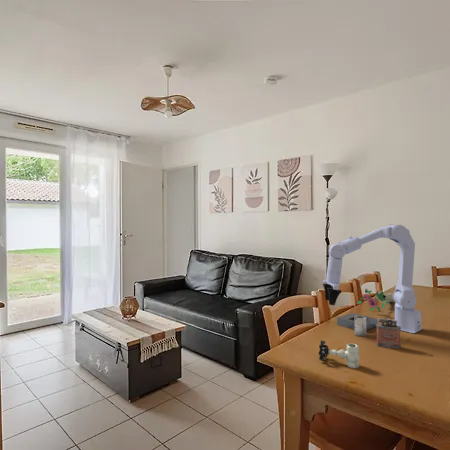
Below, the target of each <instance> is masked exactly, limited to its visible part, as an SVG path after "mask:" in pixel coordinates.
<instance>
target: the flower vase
mask: <svg viewBox="0 0 450 450" xmlns="http://www.w3.org/2000/svg"><path fill="white" fill-rule="evenodd" d="M364 292H365V293H364V294H363V295H362V297H359V299H360V300H358V301H357V303H356V304H357V305H361V304H362V302H363V301H367V305H368V306H369V307H370V309H369V311H370V312H371V311H374V310H375V309H376V310H378V311H379V312H381V308H380V306H379V305H378V302H380V303H381V304H380V305H381V307H382V308H383V309H384V308H385V305H388V306H389V305H390V303H394V302H395V301H394V300H393V293H391V292H390V293H385V292H384V291H383V290H380V291H378V290H377V291H376V293H375V295H374V296H375V297H374V298H373V297H371V296H370V294H371V293H372V292H373V291H372V290H368V288H365V289H364ZM362 300H363V301H362Z"/></svg>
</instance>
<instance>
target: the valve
mask: <svg viewBox="0 0 450 450" xmlns="http://www.w3.org/2000/svg"><path fill="white" fill-rule="evenodd" d="M318 348H319V351H318V355H319V357H318V358H319V359H318V360H319V361H325V358H327V357H328V356H329V355H332V356H334V357H336V356H338V357H339V358H340V359H341V360H344V359H345V360H346V361H345V363H346V366H347V367H348V368H352V369H357V368H359V367H360V362H359V361H360V358H361V357H360V353H359V352H360V347H359V345H357V344H356V343H346V345H345V349H344V348H340V350H337V349H331V350H330V348H329V346H328V345H326V341H325V340H320V344H319V347H318Z"/></svg>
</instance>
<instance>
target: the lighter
mask: <svg viewBox="0 0 450 450" xmlns="http://www.w3.org/2000/svg"><path fill="white" fill-rule="evenodd" d="M377 319H378V324H376V346H377V347H381V348H386V349H387V348H388V349H401V348H402V345H401V330H400V329H401V327H400V326H397V320H395V319H392V318H377Z"/></svg>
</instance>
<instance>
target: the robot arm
mask: <svg viewBox="0 0 450 450" xmlns="http://www.w3.org/2000/svg"><path fill="white" fill-rule="evenodd" d="M383 238H386V239H389V240H392V241H393V242H394V243H396V244H397V245H398V246H399V247H400V248H399V261H398V262H399V265H398V267H399V268H398V276H397V277H398V278H397V284H396V286H395V290H394V291H393V293H392V294H393V300H394V302H395V303H394V320H397V326H400V327H401V329H400V331H401V332H403V331H404V332H406V333H410V334H416V333H418V332H420V331H422V330H423V328H422V327H423V326H422V324H423V323H422V312H421V310H419V309H416V308H415V307H416V306H417V298H416V294H415V293H416V292H415V289H414V287H413V277H414V264H415V262H414V261H415V249H416V247H415V246H416V243H415V241H414V239H413V237H412V235H411V234H410V230H409V229H408V228H407V227H406V226H405V225H402V224H388V225H386V226H381V227H378V228H376V229H374V230H373V231H370V232H369V233H366V234H363V235H362V236H360V237H358V236H348V238H347V239H345V240H343V241H338V242H337V243H333V244H332V245H331V246H330V247H329V249H328V254H329V257H328V261H327V268H326V269H327V270H326V278H325V279H324V280H322V287H323V289H324V299H325V301H328V304H329V306H335V305H336V302H337V299H338V298H339V296H340V294H341V293H342V290H341V289H339V288H340V286H341V284H340V282H341V274H342V267H343V258H344V257H345V255H348V254H350V253H353V252H355V251H357V250H360V249H362V246H363V245H364V244H368V243H370V242H372V241H375V240H378V239H383Z"/></svg>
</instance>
